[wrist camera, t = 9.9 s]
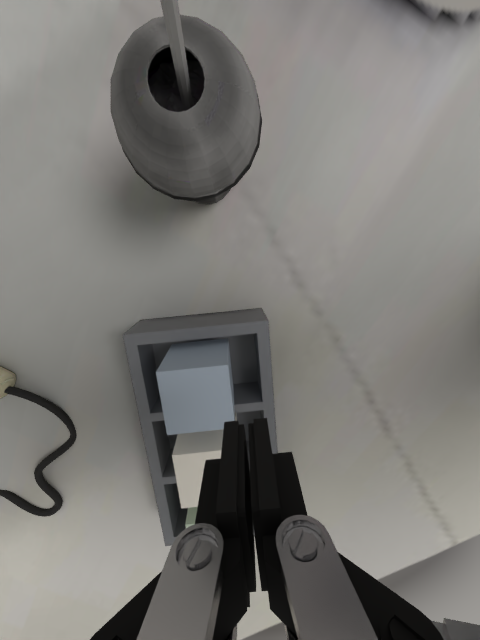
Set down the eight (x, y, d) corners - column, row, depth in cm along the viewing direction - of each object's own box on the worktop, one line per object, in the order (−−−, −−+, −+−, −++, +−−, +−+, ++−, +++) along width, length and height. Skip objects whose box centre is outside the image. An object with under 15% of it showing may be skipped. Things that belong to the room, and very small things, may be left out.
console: (261, 308, 29) (268, 320, 24) (275, 492, 34) (283, 532, 29) (140, 320, 28) (122, 335, 24) (174, 503, 34) (165, 545, 29)
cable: (119, 420, 32) (107, 440, 28) (52, 520, 35) (33, 549, 31) (-19, 344, 29) (-52, 357, 26) (-80, 460, 32) (-116, 485, 29)
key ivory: (235, 406, 28) (237, 448, 22) (240, 450, 29) (243, 501, 23) (183, 411, 28) (172, 455, 22) (190, 456, 29) (181, 508, 23)
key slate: (228, 338, 26) (228, 364, 20) (233, 389, 27) (235, 428, 21) (172, 343, 26) (155, 372, 20) (180, 394, 27) (167, 435, 21)
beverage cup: (157, 207, 26) (-49, 93, 7) (174, 119, 24) (-34, -377, 5) (235, 229, 27) (254, 185, 7) (257, 145, 25) (354, -196, 6)
